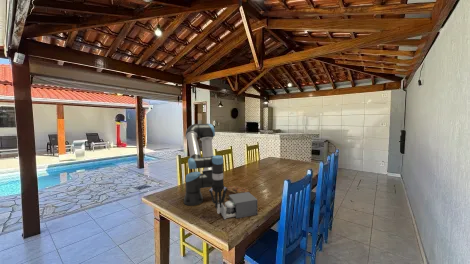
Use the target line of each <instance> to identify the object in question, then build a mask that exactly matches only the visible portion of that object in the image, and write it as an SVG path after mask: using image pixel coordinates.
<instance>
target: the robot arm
mask: <svg viewBox="0 0 470 264" xmlns="http://www.w3.org/2000/svg"><path fill="white" fill-rule="evenodd" d="M215 135H216V131H215V127H214V125H213V124H212V123H194V124H191V125H189V126H188V128H187V129H186V131H185V139H186V141H187V144H188V151H189V158H188V160H187V165H188V166H187V167H188V169H189V170H196V169H197V170H198V169H202V171H201V172H200V171H191V172H189V173H187V174H186V175H185V195H184V198H183V204H184V205H186V206H192V207H193V206H197V205H200V204H202V203H203V202H204V197H203V194H202V192H201V190H202V189H204V188H205V189H207V188H209V189H208V192H209V194H210V197H211V201H212V203H213V204H214V206H215V209H216V212H217V214H219V215H220V214H221V213H220V208H221V204H222V202H224V199H225V200H226V197H225V194H226V191H227V187H226V186H225V185H224V182H225V181H224V157H223V155H214V152H213V139H214V137H215ZM198 138H199V140H200V141H201V146H202V147H201V150H202V156H201V152H200V151H201V150H200V147H199V142H198ZM213 192H214V193H213ZM221 196H222V199H221ZM218 197H219V202H218Z"/></svg>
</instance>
